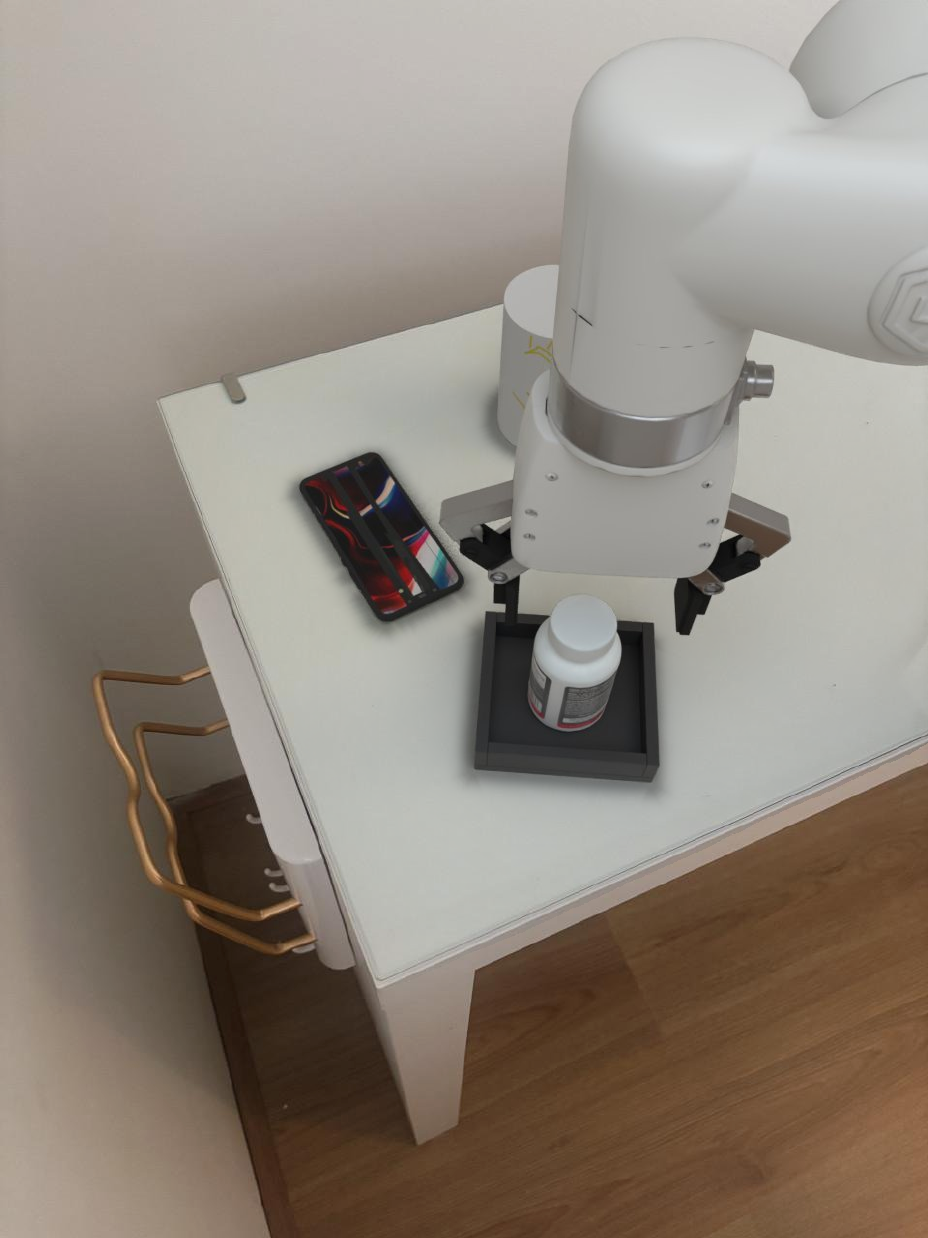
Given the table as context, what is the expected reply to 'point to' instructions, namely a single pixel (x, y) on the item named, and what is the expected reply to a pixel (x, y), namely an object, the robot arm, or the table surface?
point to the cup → (525, 342)
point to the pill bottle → (574, 663)
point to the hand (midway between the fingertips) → (595, 608)
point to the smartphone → (380, 536)
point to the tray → (530, 746)
